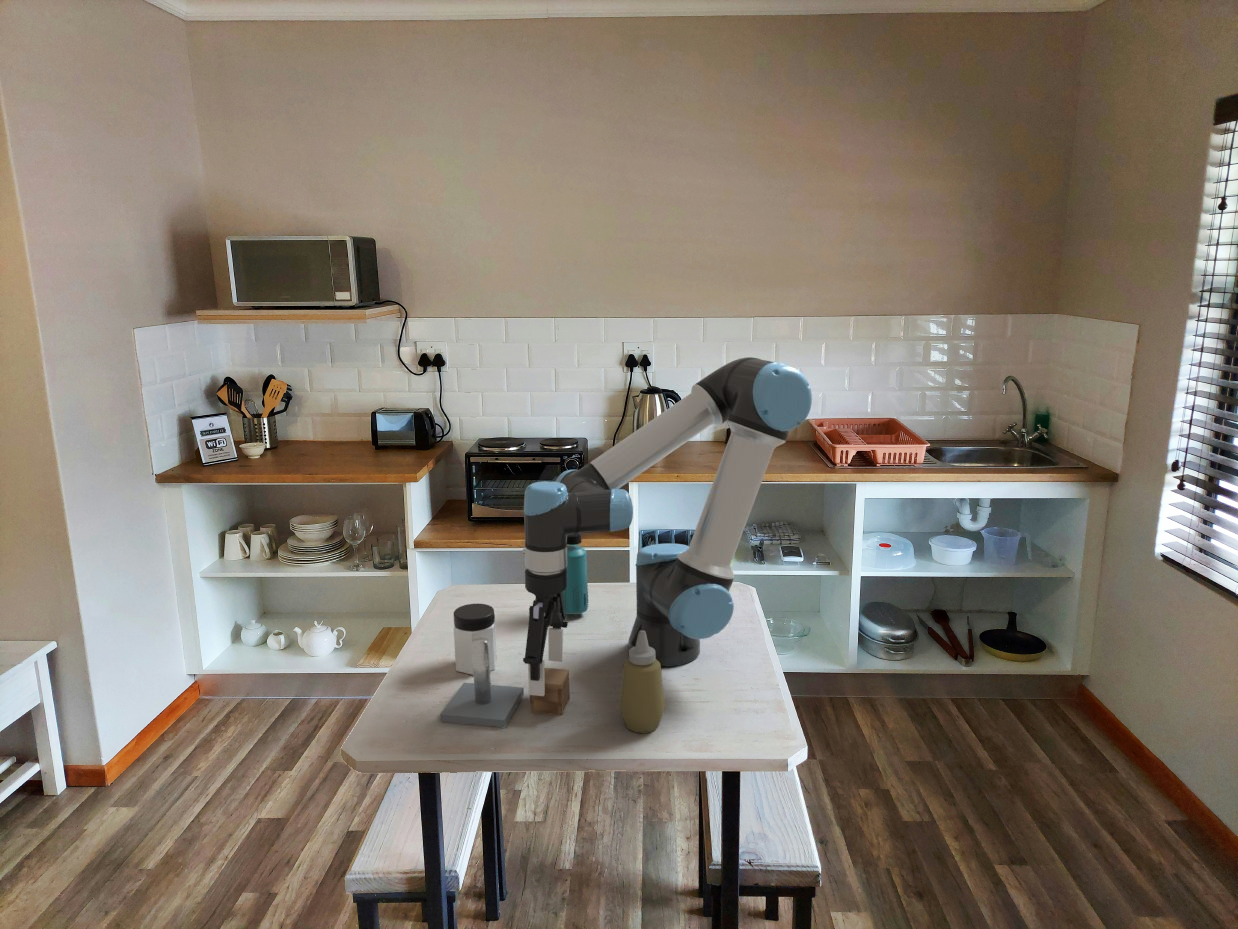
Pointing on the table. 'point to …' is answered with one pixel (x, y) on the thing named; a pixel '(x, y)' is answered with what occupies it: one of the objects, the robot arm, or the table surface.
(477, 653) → the post
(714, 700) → the table surface
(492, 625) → the jar
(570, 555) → the beverage bottle
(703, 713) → the table surface
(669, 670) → the table surface
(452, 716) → the base plate
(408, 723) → the table surface
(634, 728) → the squeeze bottle
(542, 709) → the brown wooden cube
